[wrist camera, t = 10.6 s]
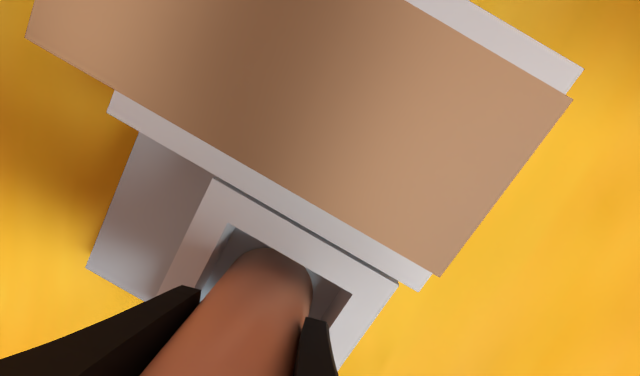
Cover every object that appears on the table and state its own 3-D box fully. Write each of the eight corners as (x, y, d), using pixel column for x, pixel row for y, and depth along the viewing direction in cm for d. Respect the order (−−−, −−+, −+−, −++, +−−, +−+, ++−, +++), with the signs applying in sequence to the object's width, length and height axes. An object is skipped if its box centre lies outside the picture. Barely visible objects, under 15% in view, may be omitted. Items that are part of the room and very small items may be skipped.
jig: (527, 80, 10) (584, 68, 8) (316, 381, 13) (306, 442, 11) (242, -87, 10) (203, -157, 7) (101, 258, 13) (41, 292, 11)
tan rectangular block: (461, 108, 10) (573, 99, 5) (399, 200, 11) (440, 277, 6) (227, -28, 10) (86, -188, 5) (185, 76, 10) (24, 37, 5)
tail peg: (331, 288, 11) (300, 503, 5) (275, 343, 12) (188, 588, 6) (262, 229, 11) (140, 377, 5) (209, 289, 12) (47, 482, 6)
